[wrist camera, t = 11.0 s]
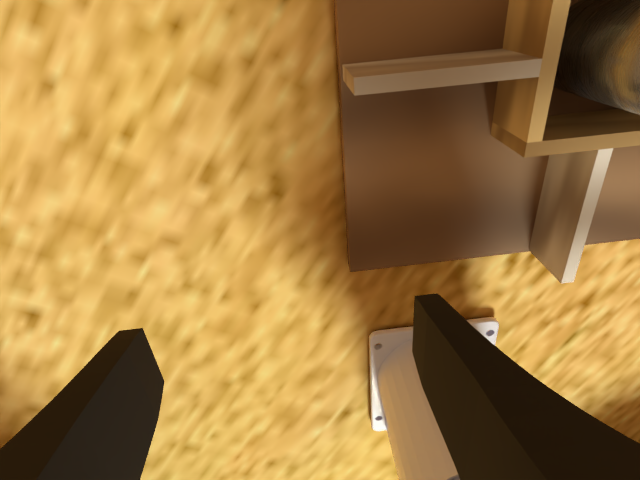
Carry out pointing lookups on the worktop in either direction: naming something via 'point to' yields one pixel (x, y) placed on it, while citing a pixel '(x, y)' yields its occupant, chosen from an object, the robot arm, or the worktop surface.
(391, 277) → the worktop surface
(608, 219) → the hinge block
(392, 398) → the robot arm
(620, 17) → the hinge pin
